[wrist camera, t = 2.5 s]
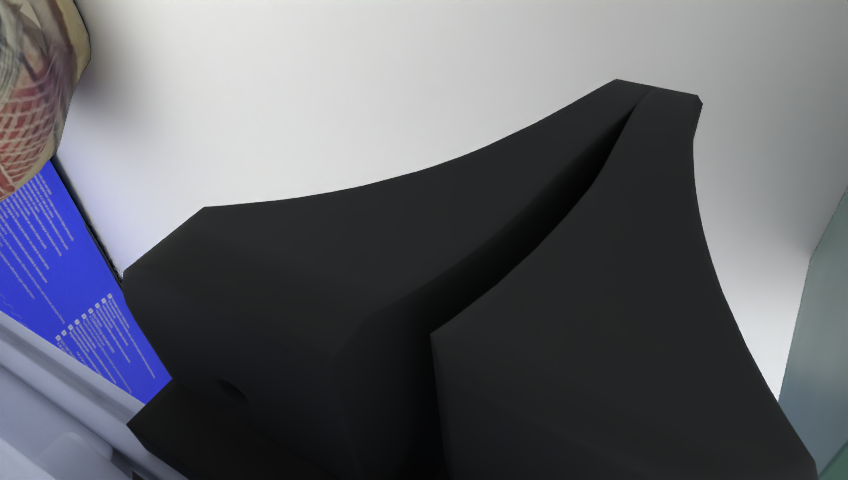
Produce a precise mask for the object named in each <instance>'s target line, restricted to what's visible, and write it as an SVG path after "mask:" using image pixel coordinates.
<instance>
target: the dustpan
mask: <svg viewBox="0 0 848 480" xmlns="http://www.w3.org/2000/svg"><path fill="white" fill-rule="evenodd" d="M778 403H779V405H780V407H781V408H782V410H783V412H784V413H785V415H786V417H787V418H788V420H789V422H790V423H791V425H792V426H793V428H794V429H795V431H796V433H797V434H798V436H799V437H800V439H801V440H802V442H803V443H804V445H805V446H806V448H807V450H808V451H809V453H810V454H811V456H812V457H813V459H814V460H815V463H816V468H817V474H818V480H848V188H847V189H846V191H845V193H844V195H843V197H842V199H841V201H840V203H839V205H838V207H837V209H836V211H835V213H834V215H833V216H832V218H831V220H830V222H829V224H828V226H827V228H826V230H825V232H824V234H823V236H822V238H821V240H820V242H819V244H818V245H817V247H816V249H815V251H814V253H813V255H812V257H811V259H810V262H809V266H808V271H807V275H806V280H805V284H804V289H803V293H802V298H801V302H800V307H799V311H798V316H797V320H796V324H795V329H794V333H793V338H792V342H791V347H790V351H789V356H788V360H787V365H786V369H785V374H784V378H783V383H782V387H781V392H780V396H779V400H778Z"/></svg>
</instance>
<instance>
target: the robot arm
mask: <svg viewBox="0 0 848 480" xmlns="http://www.w3.org/2000/svg"><path fill="white" fill-rule="evenodd" d="M702 106H703V103H702V102H701V100H700V99H699V97H698V95H694V94H689V93H684V92H679V91H674V90H669V89H664V88H659V87H654V86H649V85H644V84H639V83H634V82H629V81H624V80H619V79H615V80H613V81H611V82H609V83H607V84H605V85H604V86H602V87H600V88H598V89H596V90H595V91H593V92H591V93H589V94H587V95H586V96H584V97H582V98H580V99H579V100H577V101H575V102H573V103H572V104H570V105H568V106H566V107H564V108H562V109H560V110H559V111H557V112H555V113H553V114H551V115H549V116H548V117H546V118H544V119H542V120H540V121H538V122H536V123H534V124H532V125H530V126H528V127H526V128H524V129H522V130H520V131H518V132H515V133H513V134H511V135H509V136H507V137H505V138H503V139H501V140H498V141H496V142H494V143H492V144H490V145H488V146H486V147H483V148H481V149H479V150H476V151H474V152H471V153H469V154H466V155H463V156H461V157H458V158H456V159H453V160H450V161H447V162H444V163H441V164H438V165H436V166H433V167H430V168H427V169H423V170H420V171H417V172H413V173H409V174H405V175H402V176H398V177H394V178H390V179H387V180H383V181H379V182H375V183H372V184H368V185H364V186H359V187H354V188H349V189H344V190H339V191H334V192H329V193H323V194H317V195H311V196H305V197H299V198H291V199H284V200H276V201H266V202H255V203H245V204H235V205H225V206H211V207H203V208H202V209H201V210H199V211H198V212H197V213H196V214H194V215H193V216H192V217H191V218H189V219H188V220H187V221H186V222H184V223H183V224H182V225H181V226H179V227H178V228H177V229H176V230H174V231H173V232H172V233H171V234H169V235H168V236H167V237H166V238H164V239H163V240H162V241H161V242H159V243H158V244H157V245H156V246H154V247H153V248H152V249H151V250H149V251H148V252H147V253H146V254H144V255H143V256H142V257H141V258H139V259H138V260H137V261H136V262H134V263H133V264H132V265H131V266H129V267H128V268H127V269H126V270H124V274H123V280H122V292H123V296H124V299H125V302H126V305H127V307H128V309H129V310H130V312H131V314H132V316H133V318H134V320H135V321H136V323H137V325H138V326H139V328H140V329H141V331H142V332H143V334H144V336H145V337H146V339H147V340H148V342H149V343H150V345H151V346H152V348H153V350H154V351H155V353H156V354H157V356H158V357H159V359H160V361H161V362H162V364H163V365H164V367H165V368H166V370H167V372H168V373H169V375H170V376H171V378H172V379H171V380H170V381H169V382H168V383H167V384H166V385H165V386H164V387H163V388H162V389H161V390H160V391H159V392H158V393H157V394H156V395H155V396H154V397H153V398H152V399H151V400H150V401H149V402H148V403H147V404H146V405H145V404H144V403H142V402H140V401H139V400H137V399H136V398H134V397H133V396H131V395H130V394H128V393H127V392H125V391H124V390H122V389H120V388H119V387H117V386H116V385H114V384H113V383H111V382H110V381H108V380H107V379H105V378H103V377H102V376H100V375H99V374H97V373H96V372H94V371H93V370H91V369H90V368H88V367H87V366H85V365H83V364H82V363H80V362H79V361H77V360H76V359H74V358H73V357H71V356H70V355H68V354H66V353H65V352H63V351H62V350H60V349H59V348H57V347H56V346H54V345H53V344H51V343H50V342H48V341H46V340H45V339H43V338H42V337H40V336H39V335H37V334H36V333H34V332H33V331H31V330H29V329H28V328H26V327H25V326H23V325H22V324H20V323H19V322H17V321H16V320H14V319H13V318H11V317H9V316H8V315H6V314H5V313H3V312H2V311H0V480H132V470H133V471H134V472H135V473H137V474H138V475H139V476H141V477H142V478H143V479H145V480H818V474H817V468H816V463H815V460H814V459H813V457H812V456H811V454H810V453H809V451H808V450H807V448H806V446H805V445H804V443H803V442H802V440H801V439H800V437H799V436H798V434H797V433H796V431H795V429H794V428H793V426H792V425H791V423H790V422H789V420H788V418H787V417H786V415H785V413H784V412H783V410H782V408H781V407H780V405H779V403H778V402H777V400H776V398H775V397H774V395H773V393H772V392H771V390H770V388H769V387H768V385H767V383H766V381H765V379H764V377H763V376H762V374H761V372H760V370H759V368H758V366H757V364H756V363H755V361H754V359H753V357H752V355H751V353H750V351H749V349H748V348H747V346H746V343H745V341H744V339H743V337H742V334H741V332H740V330H739V328H738V325H737V323H736V321H735V319H734V316H733V314H732V312H731V310H730V307H729V305H728V303H727V301H726V298H725V296H724V294H723V292H722V289H721V286H720V283H719V280H718V278H717V275H716V272H715V269H714V266H713V263H712V260H711V257H710V253H709V250H708V246H707V243H706V239H705V235H704V231H703V227H702V222H701V218H700V213H699V207H698V201H697V195H696V187H695V178H694V160H693V139H694V135H695V132H696V128H697V124H698V120H699V117H700V113H701V109H702Z"/></svg>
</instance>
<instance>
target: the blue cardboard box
mask: <svg viewBox="0 0 848 480" xmlns="http://www.w3.org/2000/svg"><path fill="white" fill-rule="evenodd" d="M0 311H2V312H3V313H5V314H6V315H8V316H9V317H11V318H13V319H14V320H16V321H17V322H19V323H20V324H22V325H23V326H25V327H26V328H28V329H29V330H31V331H33V332H34V333H36V334H37V335H39V336H40V337H42V338H43V339H45V340H46V341H48V342H50V343H51V344H53V345H54V346H56V347H57V348H59V349H60V350H62V351H63V352H65V353H66V354H68V355H70V356H71V357H73V358H74V359H76V360H77V361H79V362H80V363H82V364H83V365H85V366H87V367H88V368H90V369H91V370H93V371H94V372H96V373H97V374H99V375H100V376H102V377H103V378H105V379H107V380H108V381H110V382H111V383H113V384H114V385H116V386H117V387H119V388H120V389H122V390H124V391H125V392H127V393H128V394H130V395H131V396H133V397H134V398H136V399H137V400H139V401H140V402H142V403H144V404H145V405H146V404H147V403H148V402H149V401H150V400H151V399H152V398H153V397H154V396H155V395H156V394H157V393H158V392H159V391H160V390H161V389H162V388H163V387H164V386H165V385H166V384H167V383H168V382H169V381H170V380H171V379H172V378H171V376H170V375H169V373H168V372H167V370H166V368H165V367H164V365H163V364H162V362H161V361H160V359H159V357H158V356H157V354H156V353H155V351H154V350H153V348H152V346H151V345H150V343H149V342H148V340H147V339H146V337H145V336H144V334H143V332H142V331H141V329H140V328H139V326H138V325H137V323H136V321H135V320H134V318H133V316H132V314H131V312H130V310H129V309H128V307H127V305H126V302H125V299H124V296H123V292H122V284H121V283H120V281H119V279H118V277H117V276H116V274H115V272H114V271H113V269H112V267H111V265H110V263H109V261H108V260H107V258H106V256H105V254H104V253H103V251H102V249H101V247H100V246H99V244H98V243H97V241H96V239H95V237H94V236H93V234H92V232H91V231H90V229H89V228H88V226H87V224H86V223H85V221H84V219H83V217H82V216H81V214H80V212H79V210H78V209H77V207H76V205H75V203H74V202H73V200H72V198H71V196H70V195H69V193H68V191H67V190H66V188H65V186H64V184H63V183H62V181H61V179H60V177H59V176H58V174H57V172H56V170H55V169H54V167H53V165H52V163H51V162H50V160H48V161H47V162H46V163H45V165H44V166H43V168H42V169H41V170H40V171H39V172H38V173H37V174H36V175H35V176H34V177H33V178H32V179H30V180H29V181H28V182H27V183H26V184H24V185H23V186H22V187H20V188H19V189H18V190H17V191H16V192H14V193H13V194H12V195H11V196H9V197H7V198H6V199H4V200H3V201H1V202H0Z"/></svg>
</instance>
